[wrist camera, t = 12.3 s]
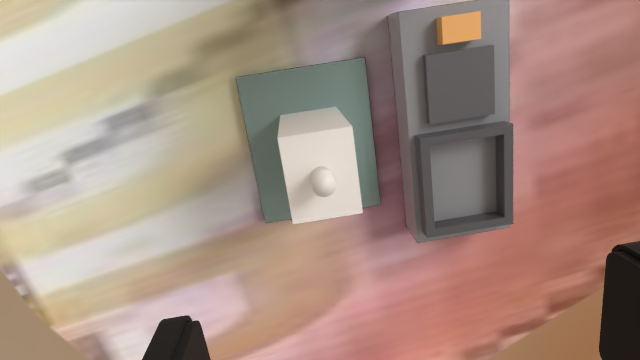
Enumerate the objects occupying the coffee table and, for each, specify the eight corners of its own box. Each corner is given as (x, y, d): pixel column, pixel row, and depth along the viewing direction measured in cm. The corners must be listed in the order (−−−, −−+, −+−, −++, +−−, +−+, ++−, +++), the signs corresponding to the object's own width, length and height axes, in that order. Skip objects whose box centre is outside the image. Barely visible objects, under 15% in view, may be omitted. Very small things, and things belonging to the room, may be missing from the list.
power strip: (487, 0, 29) (519, -8, 25) (491, 212, 33) (518, 234, 29) (387, 15, 28) (404, 9, 24) (406, 226, 33) (422, 250, 29)
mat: (363, 57, 29) (364, 57, 29) (378, 201, 32) (380, 204, 32) (236, 76, 29) (235, 77, 28) (265, 220, 32) (265, 223, 32)
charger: (335, 106, 29) (357, 131, 20) (344, 172, 31) (368, 224, 22) (280, 115, 29) (276, 144, 20) (291, 181, 31) (293, 236, 22)
